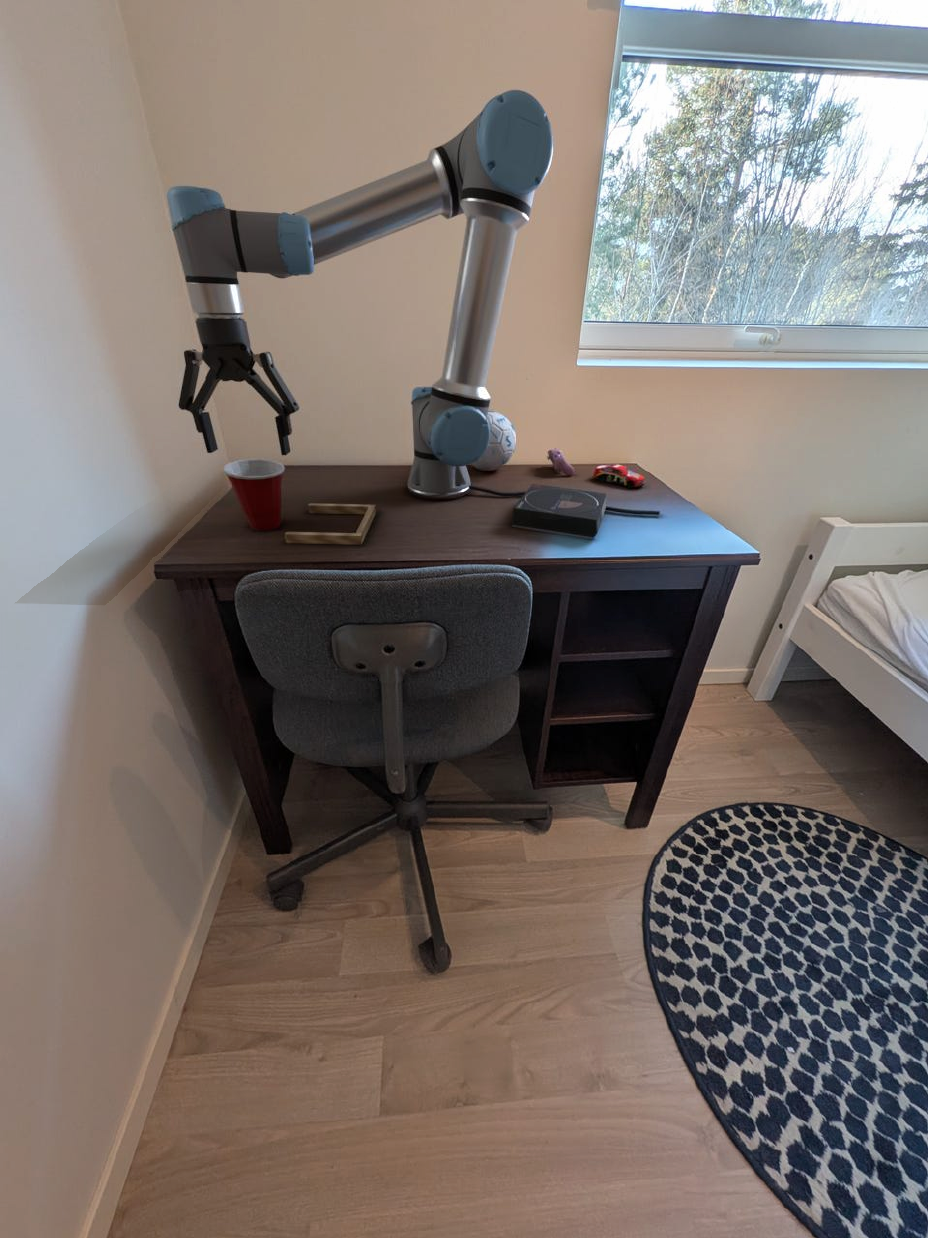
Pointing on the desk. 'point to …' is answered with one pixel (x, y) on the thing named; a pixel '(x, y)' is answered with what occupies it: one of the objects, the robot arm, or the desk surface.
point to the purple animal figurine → (560, 462)
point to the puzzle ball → (497, 443)
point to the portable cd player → (560, 511)
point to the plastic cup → (258, 490)
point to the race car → (619, 475)
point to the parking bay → (336, 537)
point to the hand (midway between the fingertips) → (249, 452)
